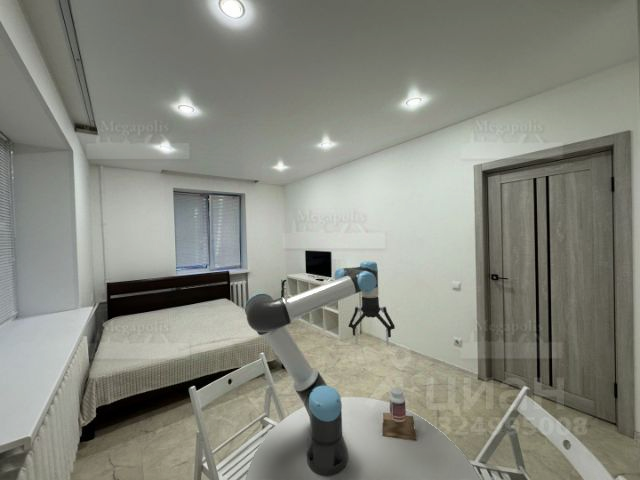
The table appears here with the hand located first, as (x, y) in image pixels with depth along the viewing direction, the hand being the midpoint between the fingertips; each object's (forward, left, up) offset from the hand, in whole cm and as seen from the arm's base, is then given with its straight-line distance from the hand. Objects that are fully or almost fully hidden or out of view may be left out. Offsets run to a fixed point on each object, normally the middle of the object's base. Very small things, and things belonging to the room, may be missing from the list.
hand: (371, 343), depth 118 cm
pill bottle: (+10, -8, -27) cm, 30 cm away
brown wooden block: (+10, -8, -33) cm, 35 cm away
